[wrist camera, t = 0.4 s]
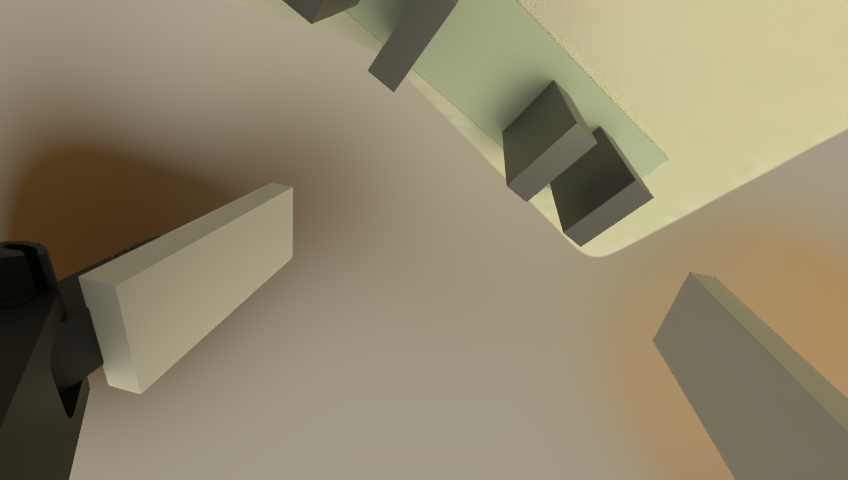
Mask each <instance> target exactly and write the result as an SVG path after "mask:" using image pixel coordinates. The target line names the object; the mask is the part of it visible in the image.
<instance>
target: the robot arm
mask: <svg viewBox="0 0 848 480" xmlns="http://www.w3.org/2000/svg"><path fill="white" fill-rule="evenodd" d="M292 238H293V187H290V186H285V185H280V184H276V183H270V184H268V185H266V186H264V187H262V188H260V189H258V190H256V191H254V192H252V193H250V194H248V195H246V196H244V197H242V198H240V199H237V200H236V201H233V202H231V203H229V204H227V205H225V206H223V207H221V208H219V209H217V210H215V211H213V212H211V213H209V214H207V215H205V216H203V217H200V218H199V219H196V220H194V221H192V222H190V223H188V224H186V225H184V226H182V227H180V228H178V229H176V230H174V231H172V232H170V233H167V234H164V235H160V236H156V237H152V238H149V239H146V240H144V241H142V242H140V243H138V244H136V245H134V246H131V247H130V248H129V250H127V249H125V250H123V251H121V252H119V253H117V254H114V257H108V258H106V259H104V260H102V261H100V262H97V263H96V264H93V265H91V266H89V267H87V268H85V269H83V270H81V271H78V272H76V273H74V274H72V275H70V276H68V277H66V278H64V279H62V280H60V281H57V279H56V276H55V272H54V269H53V266H52V263H51V260H50V256H49V253H48V250H47V248H46V247H45V246H43V245H41V244H40V243H34V242H29V241H5V242H0V480H69V476H70V472H71V468H72V464H73V459H74V455H75V451H76V446H77V442H78V438H79V433H80V429H81V425H82V421H83V416H84V412H85V408H86V403H87V399H88V395H89V390H90V388H89V382H88V378H87V376H88V375H89V374H90V373H92V372H93V371H95V370H96V369H97V368H99V367H100V366H101V365H103V367H104V370H105V374H106V377H107V381H108V385H110V386H113V387H117V388H121V389H124V390H128V391H131V392H135V393H139V394H141V393H142V392H143V391H145V390H146V389H147V388H148V387H149V386H150V385H151V384H153V383H154V382H155V381H156V380H157V379H158V378H159V377H160V376H161V375H162V374H164V373H165V372H166V371H167V370H168V369H169V368H170V367H171V366H172V365H174V364H175V363H176V362H177V361H178V360H179V359H180V358H181V357H182V356H184V355H185V354H186V353H187V352H188V351H189V350H190V349H191V348H192V347H193V346H195V345H196V344H197V343H198V342H199V341H200V340H201V339H202V338H203V337H205V336H206V335H207V334H208V333H209V332H210V331H211V330H212V329H213V328H215V327H216V325H218V324H219V323H220V322H221V321H222V320H223V319H224V318H226V317H227V316H228V315H229V314H230V313H231V312H232V311H233V310H234V309H236V307H238V306H239V305H240V304H241V303H242V302H243V301H244V300H246V299H247V298H248V297H249V296H250V295H251V294H252V293H253V292H254V291H256V290H257V289H258V288H259V287H260V286H261V285H262V284H263V283H264V282H265V281H267V280H268V279H269V278H270V277H271V276H272V275H273V274H274V273H276V272H277V270H279V269H280V268H281V267H282V266H283V265H284V264H286V263H287V262H288V261H289V260H290V259H291V258H292V253H293V249H292V246H293V244H292V243H293V239H292ZM653 342H654V343H655V345H656V347H657V348H658V350H659V352H660V353H661V355H662V357H663V358H664V360H665V362H666V363H667V365H668V367H669V368H670V370H671V372H672V374H673V375H674V377H675V379H676V380H677V382H678V384H679V385H680V387H681V389H682V390H683V392H684V394H685V396H686V397H687V399H688V401H689V402H690V404H691V406H692V407H693V409H694V411H695V412H696V414H697V416H698V417H699V419H700V421H701V423H702V424H703V426H704V428H705V429H706V431H707V433H708V434H709V436H710V438H711V439H712V441H713V443H714V444H715V446H716V448H717V449H718V451H719V453H720V454H721V456H722V458H723V460H724V461H725V463H726V465H727V466H728V468H729V470H730V471H731V473H732V474H733V476H734V478H735V480H848V398H846V397H845V396H844V395H843V394H842V393H841V392H840V391H839V390H837V388H836V387H834V386H833V385H832V384H831V383H830V382H829V381H828V380H827V379H826V378H825V377H823V375H821V374H820V373H819V372H818V371H817V370H816V369H815V368H814V367H813V366H812V365H811V364H809V363H808V362H807V361H806V360H805V359H804V358H803V357H802V356H801V355H800V354H799V353H797V352H796V351H795V350H794V349H793V348H792V347H791V346H790V345H789V344H788V343H787V342H785V341H784V340H783V339H782V338H781V337H780V336H779V335H778V334H777V333H775V331H774V330H772V329H771V328H770V327H769V326H768V325H767V324H766V323H765V322H764V321H763V320H761V319H760V318H759V317H758V316H757V315H756V314H755V313H754V312H753V311H752V310H751V309H750V308H748V307H747V306H746V305H745V304H744V303H743V302H742V301H741V300H740V299H739V298H738V297H737V296H735V295H734V294H733V293H732V292H731V291H730V290H729V289H728V288H727V287H726V286H725V285H723V284H722V283H721V282H720V281H719V280H718V279H717V278H716V277H712V276H708V275H703V274H698V273H694V272H689V274H688V276H687V278H686V280H685V282H684V283H683V286H682V287H681V289H680V291H679V293H678V295H677V297H676V298H675V300H674V302H673V304H672V306H671V308H670V309H669V311H668V313H667V315H666V317H665V319H664V321H663V323H662V324H661V326H660V328H659V330H658V332H657V334H656V335H655V337H654V339H653Z"/></svg>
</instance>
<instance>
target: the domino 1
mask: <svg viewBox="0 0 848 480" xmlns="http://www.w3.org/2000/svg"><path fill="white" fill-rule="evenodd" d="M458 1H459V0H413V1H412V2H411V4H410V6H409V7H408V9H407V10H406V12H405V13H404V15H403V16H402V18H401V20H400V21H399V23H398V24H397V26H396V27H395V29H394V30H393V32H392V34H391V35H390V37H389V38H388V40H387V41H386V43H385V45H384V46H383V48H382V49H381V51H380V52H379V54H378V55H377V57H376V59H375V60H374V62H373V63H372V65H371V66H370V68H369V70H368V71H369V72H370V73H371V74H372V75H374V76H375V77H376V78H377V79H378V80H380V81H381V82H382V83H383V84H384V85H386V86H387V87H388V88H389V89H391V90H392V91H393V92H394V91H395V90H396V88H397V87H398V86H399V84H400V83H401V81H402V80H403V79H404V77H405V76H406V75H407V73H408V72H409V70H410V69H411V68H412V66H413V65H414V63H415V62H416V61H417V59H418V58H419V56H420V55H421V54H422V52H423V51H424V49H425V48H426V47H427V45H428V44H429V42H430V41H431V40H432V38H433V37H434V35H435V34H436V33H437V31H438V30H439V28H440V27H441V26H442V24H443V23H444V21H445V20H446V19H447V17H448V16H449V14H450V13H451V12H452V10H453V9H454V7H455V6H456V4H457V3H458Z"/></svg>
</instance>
